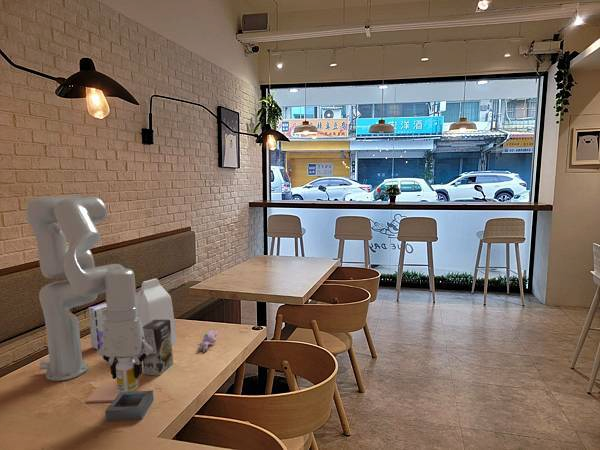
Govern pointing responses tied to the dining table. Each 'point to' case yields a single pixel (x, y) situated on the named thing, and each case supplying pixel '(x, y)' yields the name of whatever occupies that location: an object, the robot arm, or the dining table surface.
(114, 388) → the pad
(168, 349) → the coffee box
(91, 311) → the candy box
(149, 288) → the milk
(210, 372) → the dining table surface
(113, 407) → the sleeve
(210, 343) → the rabbit figure
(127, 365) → the supplement bottle
